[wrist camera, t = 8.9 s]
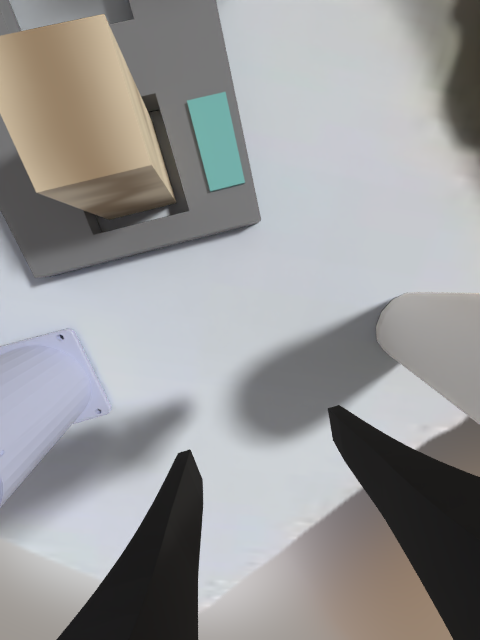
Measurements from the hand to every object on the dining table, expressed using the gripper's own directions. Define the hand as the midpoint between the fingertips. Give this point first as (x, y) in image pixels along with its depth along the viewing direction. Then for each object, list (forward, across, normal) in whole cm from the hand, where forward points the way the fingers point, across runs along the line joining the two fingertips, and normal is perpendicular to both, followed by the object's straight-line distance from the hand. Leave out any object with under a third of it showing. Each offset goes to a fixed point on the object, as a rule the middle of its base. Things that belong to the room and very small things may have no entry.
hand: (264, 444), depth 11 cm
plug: (+10, +4, -16) cm, 19 cm away
